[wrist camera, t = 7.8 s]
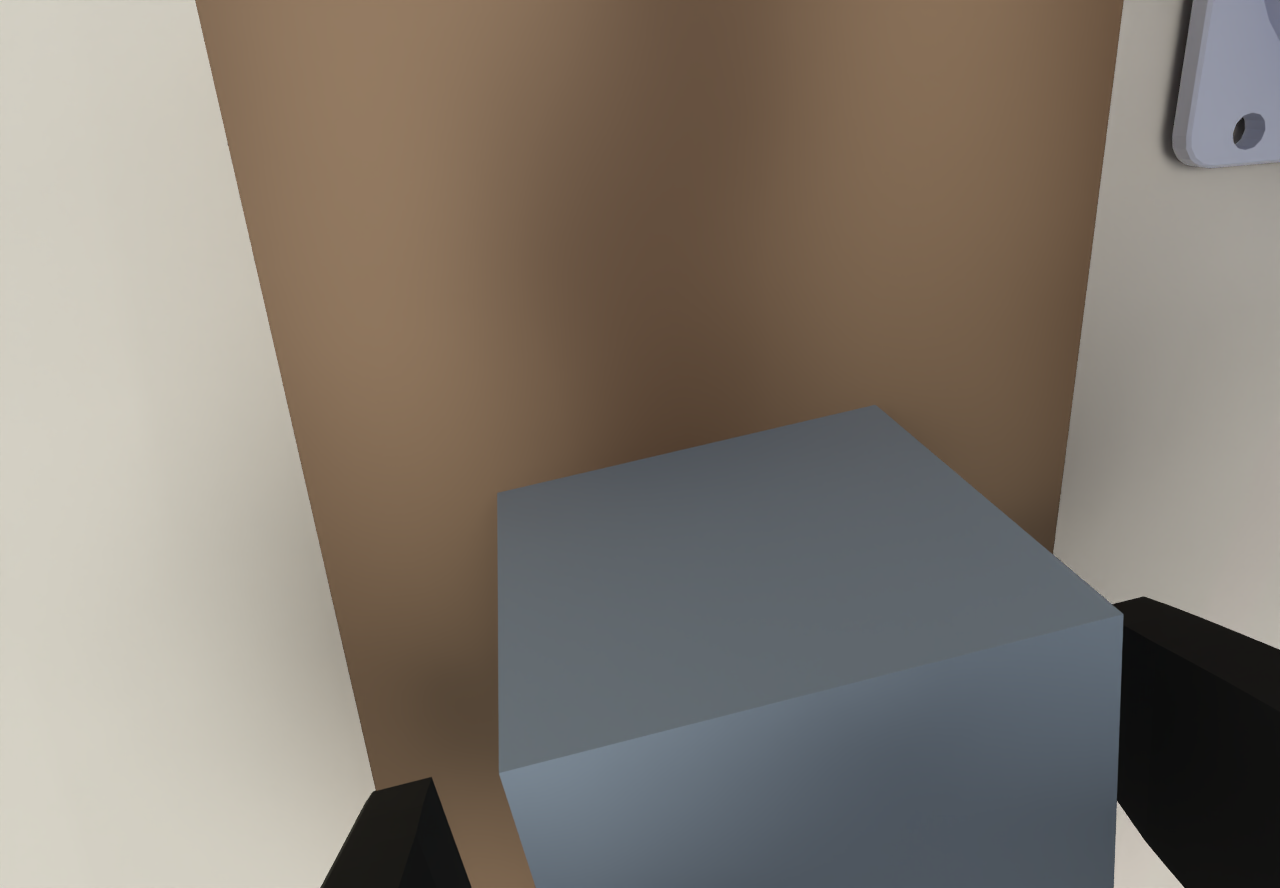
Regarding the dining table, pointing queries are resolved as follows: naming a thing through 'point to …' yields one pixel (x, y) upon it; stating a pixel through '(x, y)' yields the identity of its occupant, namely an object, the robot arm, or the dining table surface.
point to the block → (800, 674)
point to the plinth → (639, 277)
